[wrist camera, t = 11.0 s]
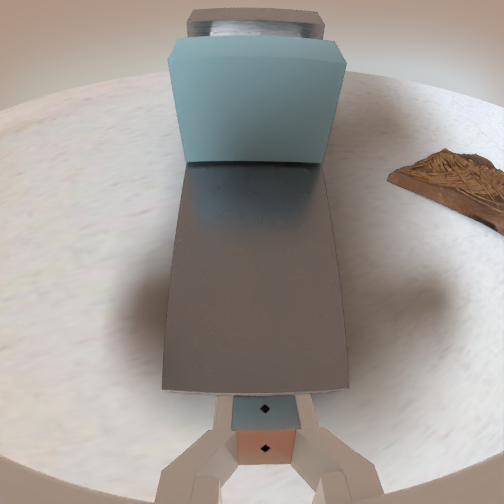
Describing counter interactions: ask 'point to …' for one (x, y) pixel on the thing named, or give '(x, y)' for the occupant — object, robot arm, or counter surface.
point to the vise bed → (254, 262)
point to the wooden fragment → (458, 185)
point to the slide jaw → (255, 97)
